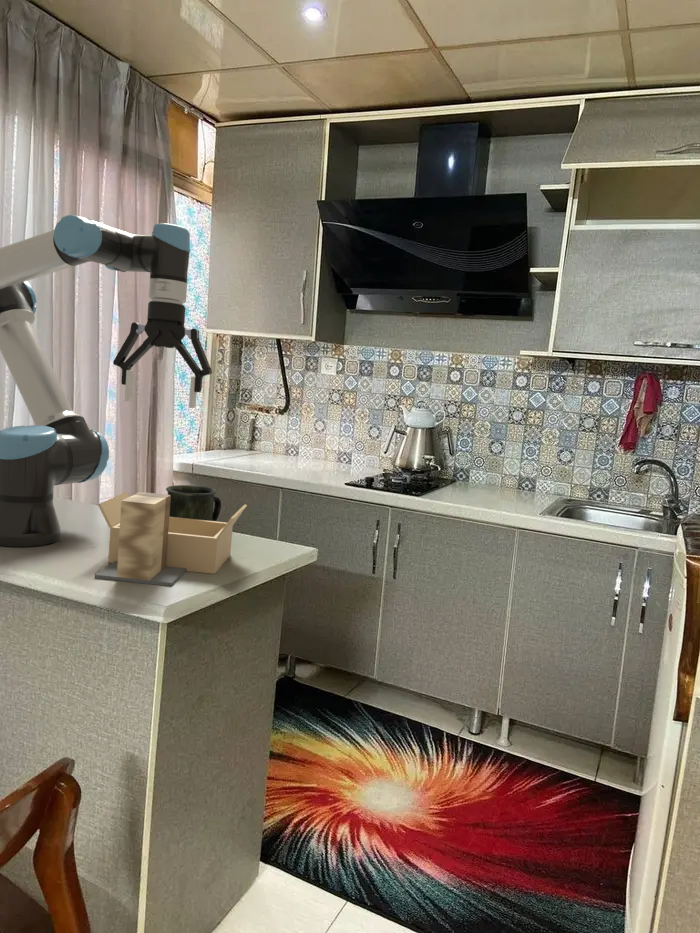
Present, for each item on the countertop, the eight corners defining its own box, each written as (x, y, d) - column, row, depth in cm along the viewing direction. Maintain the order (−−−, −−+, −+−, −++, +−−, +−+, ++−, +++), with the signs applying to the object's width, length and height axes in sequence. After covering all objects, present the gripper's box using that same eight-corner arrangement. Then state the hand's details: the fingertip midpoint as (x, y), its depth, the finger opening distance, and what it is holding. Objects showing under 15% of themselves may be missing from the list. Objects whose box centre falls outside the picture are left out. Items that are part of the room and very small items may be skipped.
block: (116, 576, 128) (121, 500, 126) (135, 562, 138) (139, 491, 136) (149, 580, 128) (154, 504, 126) (165, 566, 138) (170, 495, 136)
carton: (94, 560, 139) (97, 503, 137) (121, 543, 153) (124, 491, 152) (228, 575, 138) (233, 517, 137) (242, 556, 153) (247, 504, 151)
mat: (94, 577, 128) (95, 574, 128) (114, 563, 138) (115, 560, 138) (171, 586, 128) (171, 582, 128) (186, 571, 138) (186, 568, 138)
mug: (152, 539, 160) (155, 486, 158) (200, 531, 172) (204, 482, 170) (184, 549, 154) (188, 495, 152) (232, 541, 165) (237, 490, 164)
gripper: (101, 294, 144) (95, 398, 147) (222, 306, 143) (214, 411, 146) (114, 298, 151) (108, 397, 154) (230, 310, 151) (222, 409, 153)
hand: (160, 404), depth 150 cm, fingers open, 13 cm apart
